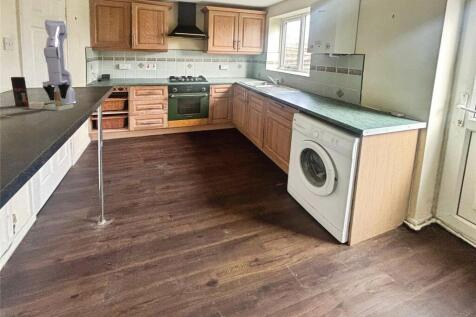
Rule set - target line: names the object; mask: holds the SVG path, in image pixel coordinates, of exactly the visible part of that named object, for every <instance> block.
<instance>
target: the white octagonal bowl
mask: <svg viewBox="0 0 476 317" xmlns="http://www.w3.org/2000/svg"><path fill="white" fill-rule="evenodd" d="M28 102H29V106H28V108H29V110H40V109H43V106H44V105H45V103H44V101H31V102H30V101H28Z"/></svg>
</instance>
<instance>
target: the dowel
mask: <svg viewBox="0 0 476 317" xmlns="http://www.w3.org/2000/svg"><path fill="white" fill-rule="evenodd" d="M54 102H55V103H54V104H55V106H56V107H60V106H62V102H61V94H60V92H56V91H54Z"/></svg>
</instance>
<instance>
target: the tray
mask: <svg viewBox="0 0 476 317" xmlns="http://www.w3.org/2000/svg"><path fill="white" fill-rule="evenodd" d="M71 108H75V103H68V104H67V103H62V106H60V107H56V106H55V103H49V104H44V106H43V108H42V109H43V110H51V111H63V110H68V109H71Z"/></svg>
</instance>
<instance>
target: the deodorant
mask: <svg viewBox="0 0 476 317" xmlns="http://www.w3.org/2000/svg"><path fill="white" fill-rule="evenodd" d="M10 82H11V87H12V93H13V98H14V104H15V107H18V108H19V107H20V108H21V107H29V102H30V101H29V97H28V90H27V84H26V83H27V82H26V78H25V76H11V77H10Z"/></svg>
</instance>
